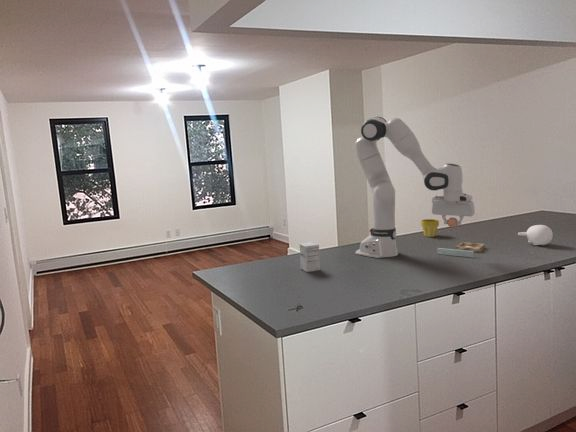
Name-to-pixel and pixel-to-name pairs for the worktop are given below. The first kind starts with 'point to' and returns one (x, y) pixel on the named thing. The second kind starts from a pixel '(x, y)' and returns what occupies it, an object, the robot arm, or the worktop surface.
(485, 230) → the worktop surface
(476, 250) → the birch tray
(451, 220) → the coral ball
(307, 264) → the supplement box
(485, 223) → the worktop surface
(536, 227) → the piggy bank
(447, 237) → the worktop surface
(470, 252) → the aqua wall
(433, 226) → the plant pot
